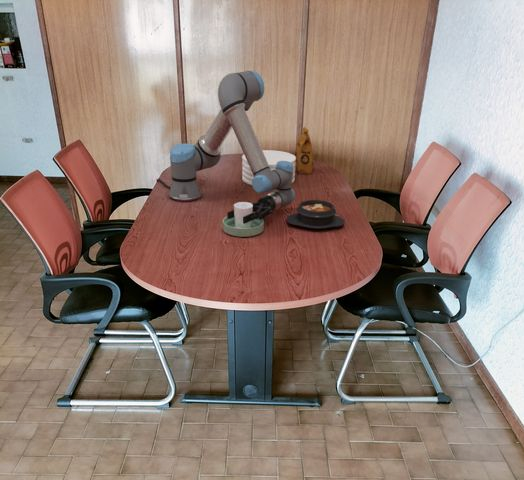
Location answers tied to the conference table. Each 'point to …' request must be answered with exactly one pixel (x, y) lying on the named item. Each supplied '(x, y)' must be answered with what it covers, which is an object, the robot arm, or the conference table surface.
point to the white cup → (242, 214)
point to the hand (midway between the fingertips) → (235, 218)
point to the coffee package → (304, 153)
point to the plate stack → (271, 159)
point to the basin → (242, 232)
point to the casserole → (315, 215)
